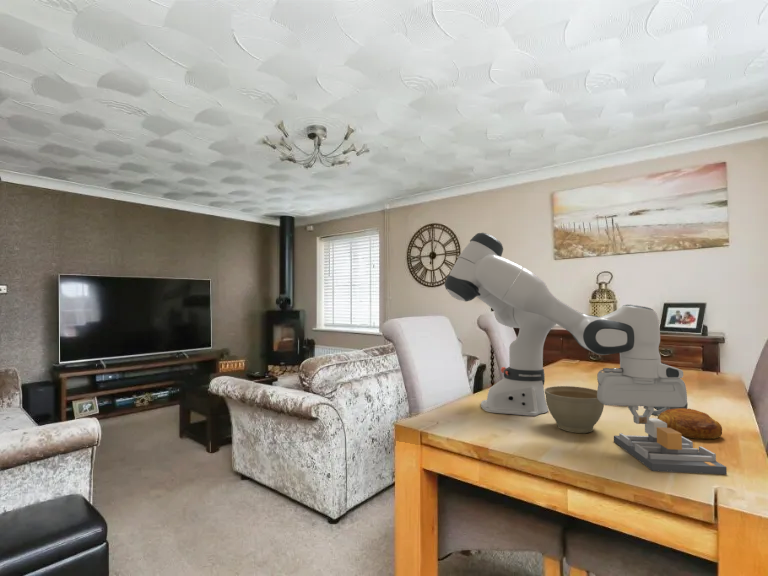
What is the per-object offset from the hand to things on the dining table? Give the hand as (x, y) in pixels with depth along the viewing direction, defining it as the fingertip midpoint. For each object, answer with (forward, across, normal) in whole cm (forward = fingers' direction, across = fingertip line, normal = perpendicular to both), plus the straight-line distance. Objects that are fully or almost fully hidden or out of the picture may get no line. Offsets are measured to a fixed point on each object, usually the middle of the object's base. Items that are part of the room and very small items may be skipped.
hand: (641, 423), depth 102 cm
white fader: (+5, +3, 0) cm, 6 cm away
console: (+6, +3, -4) cm, 8 cm away
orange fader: (+5, +2, -8) cm, 10 cm away
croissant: (+7, +20, +16) cm, 26 cm away
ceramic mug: (+7, +26, +36) cm, 45 cm away
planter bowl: (+7, -11, +16) cm, 20 cm away
